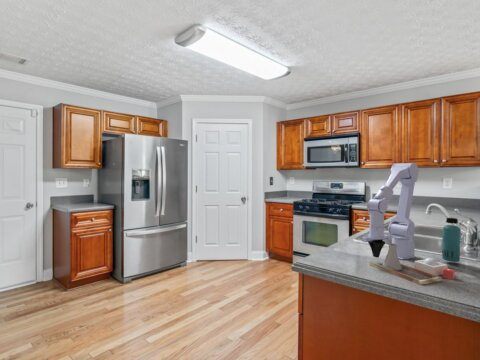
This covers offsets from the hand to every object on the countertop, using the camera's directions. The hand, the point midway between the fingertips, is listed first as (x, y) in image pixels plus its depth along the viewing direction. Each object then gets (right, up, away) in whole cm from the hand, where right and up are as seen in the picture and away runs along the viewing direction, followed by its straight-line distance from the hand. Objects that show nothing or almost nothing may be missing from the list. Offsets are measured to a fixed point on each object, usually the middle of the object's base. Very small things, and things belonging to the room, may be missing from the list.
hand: (376, 256), depth 126 cm
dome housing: (+16, -3, -11) cm, 20 cm away
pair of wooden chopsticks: (+5, -3, -12) cm, 13 cm away
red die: (+19, -3, -18) cm, 26 cm away
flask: (+3, -3, -8) cm, 9 cm away
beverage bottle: (+33, -3, 0) cm, 33 cm away
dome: (+16, -2, -11) cm, 20 cm away
